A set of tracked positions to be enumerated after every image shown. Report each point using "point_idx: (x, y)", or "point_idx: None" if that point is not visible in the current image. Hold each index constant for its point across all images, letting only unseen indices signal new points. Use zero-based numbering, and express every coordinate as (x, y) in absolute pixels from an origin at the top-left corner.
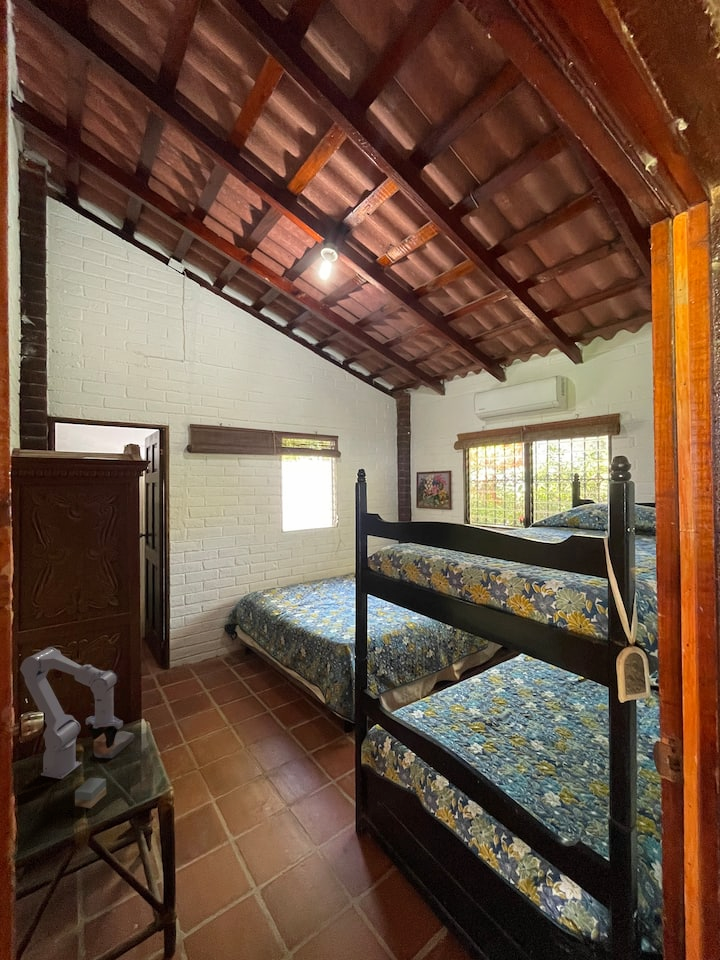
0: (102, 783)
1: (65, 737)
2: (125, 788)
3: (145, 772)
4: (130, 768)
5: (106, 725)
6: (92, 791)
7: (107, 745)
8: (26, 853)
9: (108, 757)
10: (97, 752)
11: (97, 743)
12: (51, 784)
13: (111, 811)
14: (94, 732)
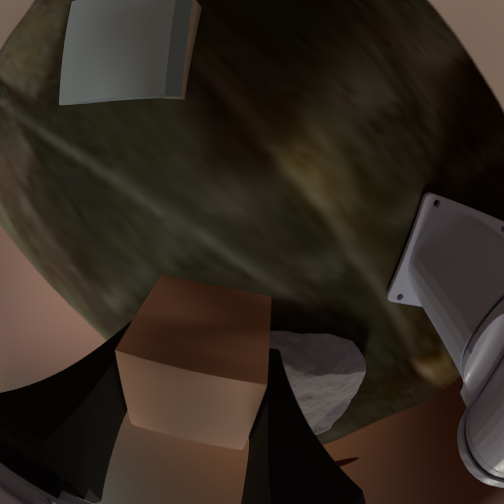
0: (65, 77)
1: None
2: (46, 143)
3: (42, 238)
4: (110, 262)
5: (1, 502)
6: (71, 9)
7: (125, 331)
8: None
9: (271, 332)
10: (230, 295)
11: (213, 353)
12: (449, 160)
13: (32, 34)
14: (263, 471)
